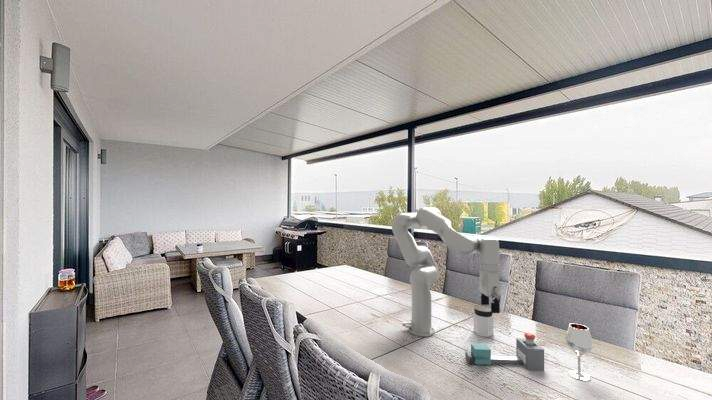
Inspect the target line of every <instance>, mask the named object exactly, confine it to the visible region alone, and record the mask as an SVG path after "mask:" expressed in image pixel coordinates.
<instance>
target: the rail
mask: <svg viewBox="0 0 712 400" xmlns="http://www.w3.org/2000/svg"><path fill="white" fill-rule="evenodd" d="M464 352H465V353H464V354H465V360H466V362H467V364H468V365H469V366H473V365H476V364H475V363H474V357H473V355H471V351H469V350H465V351H464ZM491 365H495V366H496V365H498V366H499V365H500V366H501V365H503V366H524V362H523V360H522V359H521V358H520V357H516V356H505V355H491Z"/></svg>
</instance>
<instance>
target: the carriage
mask: <svg viewBox="0 0 712 400" xmlns="http://www.w3.org/2000/svg"><path fill="white" fill-rule="evenodd" d="M470 354H471V355H473V357H474V363H475V364H474V365H486V366H487V365H489V366H491V365H492V364H491V356H492V350H491V348H490V347H489V346H488V344H487V343H478V342H477V343H476V342H475V343H474V342H471V343H470Z"/></svg>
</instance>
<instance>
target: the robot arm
mask: <svg viewBox="0 0 712 400" xmlns="http://www.w3.org/2000/svg"><path fill="white" fill-rule="evenodd" d="M422 227H426V228H427V229H429V230H431V231H432V232H434V233H435V234H436V235H438V236H439V237H440V238H441V240H442V241H443V243H444V244H446V245H447V246H448V247H450V248H451V249H452V250H454V251H456V252H457V253H458V254H461V255H463V256H471V255H473V254H479V278H478V279H479V280H478V281H479V282H478V291H479V292H480V304H481V306H489V305H490V308H491V312H492V313H493V314H500V311H501V310H500V304H501V298H502V294H501V288H500V287H501V283H500V274H499V273H500V241H499V239H498V238H496V237H482V236H477V235H469V236H464V235H462V234H460V232H458V231H457V230H455V229H454V228H453V227H452V221H451V220H450V219H448V218H446V217H444V216H443V215H442V213H441V211H440V210H439V209H438V208H437V207H434V206H424V207H420V208H419V209H418V210H417V211H414V212H413V211H412V212H401V213H398V214H397V215H395V216H394V218H393V220H392V222H391V230H392V234H393V236H394V238H395V241H397V244H398V247H399V249H400V251H401V254H402V256H403V259H404V261H405V263H406V264H407V265H408V266H409V267H410V266H411V267H414V266H418V267H415V269H413V270H411V272H410V275H409V283H410V288H411V319H410V321H408V322H407V321H402V322H401V324H402V325H401V326H402V327H405V328H406V329H407V328H408V331H409V333H410V334H411V335H414V336H417V337H421V338H423V337H425V338H426V337H427V338H428V337H432V336H433V335H434V334H435V328H434V327H432V292H431V289H430V285H433V284H435V283H437V282H438V281H439V279H440V270H439V268H438V266H437V263H436V261H435V259H434V257H433V255H432V252H431V250H429V248H428V247H427V246H424V245H417V242H416V240H415V238H414V236H413V235H412V234H411V232H410V231H409V229H410V230H411V229H418V228H422ZM490 300H491V302H490Z"/></svg>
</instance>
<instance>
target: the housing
mask: <svg viewBox="0 0 712 400" xmlns="http://www.w3.org/2000/svg"><path fill="white" fill-rule="evenodd" d="M515 340H516V342H515V343H516V344H515V345H516V346H515V347H516V349H515V350H516V351H515V352H516V356H515V357H520V358H521V359H522V360H523V362H524V365H523V367H525V369H526V370H527V371H540V372H542V371H543V372H544V371H545V349H544V347H542V346H541V345H539V343H538V342H536V341H535V340H534V346H527V345H526V337H524V338H523V337H522V338H520V337H516V339H515Z"/></svg>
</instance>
